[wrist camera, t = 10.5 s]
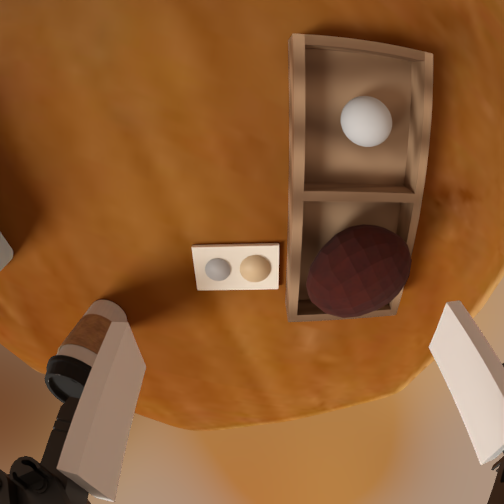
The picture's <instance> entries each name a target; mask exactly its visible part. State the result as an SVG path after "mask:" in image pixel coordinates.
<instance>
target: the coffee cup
mask: <svg viewBox="0 0 504 504" xmlns="http://www.w3.org/2000/svg"><path fill="white" fill-rule="evenodd" d="M111 322H127V317H126V314H125V312H124V311H123V310H122V309H121V307H119V306H118V305H117V304H115V303H114V302H111V301H108V300H97V301H95V302H94V303H93V304H92V305H91V306H90V308H89V309H88V310H87V312H86V313H85V314H84V316H83V317H82V318H81V319H80V321H79V322H78V323H77V325H76V326H75V327H74V329H73V330H72V331H71V332H70V334H69V335H68V336H67V338H66V339H65V340H64V342H63V343H62V345H61V346H60V347H59V349H58V351H57V354H56V355H55V356H53V357H51V358H50V359H49V361H48V364H47V372H46V375H45V383H46V385H47V387H48V389H49V390H50V391H51V393H52V394H53V395H54V396H55V397H56V398H57V399H59V400H60V401H61V402H63V403H65V401H66V400H67V399H68V398H69V397H75V398H80V397H81V395H82V392H83V389H84V387H85V384H86V382H87V379H88V377H89V374H90V372H91V369H92V367H93V364H94V362H95V359H96V357H97V354H98V352H99V350H100V347H101V345H102V343H103V340H104V338H105V336H106V333H107V331H108V329H109V327H110V324H111Z"/></svg>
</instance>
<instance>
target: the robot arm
mask: <svg viewBox="0 0 504 504" xmlns="http://www.w3.org/2000/svg"><path fill="white" fill-rule="evenodd" d="M429 349H430V351H431V353H432V355H433V357H434V359H435V361H436V363H437V365H438V367H439V369H440V371H441V373H442V375H443V377H444V379H445V381H446V383H447V385H448V388H449V390H450V392H451V394H452V396H453V399H454V401H455V403H456V405H457V408H458V410H459V412H460V415H461V417H462V419H463V422H464V424H465V426H466V429H467V431H468V434H469V436H470V439H471V441H472V443H473V446H474V449H475V452H476V454H477V457H478V459H479V462H480V465H482V464H484V463H486V462H489V461H491V460H493V459H495V458H496V457H497V456H498V455H499V454H500V453H501V452H503V453H504V363H503V364H502V363H501V362H500V360H499V358H498V357H497V355H496V354H495V352H494V350H493V349H492V347H491V346H490V344H489V343H488V341H487V340H486V338H485V336H484V335H483V333H482V332H481V330H480V329H479V327H478V326H477V324H476V323H475V321H474V320H473V319H472V317H471V316H470V314H469V313H468V311H467V310H466V308H465V307H464V306H463V304H462V303H461V301H453V302H447V303H446V305H445V308H444V311H443V313H442V316H441V319H440V321H439V324H438V326H437V329H436V331H435V334H434V336H433V339H432V341H431V343H430V346H429ZM145 369H146V365H145V363H144V361H143V358H142V356H141V353H140V351H139V348H138V346H137V343H136V341H135V338H134V336H133V333H132V331H131V328H130V325H129V323H128V322H111V324H110V327H109V329H108V331H107V333H106V336H105V338H104V340H103V343H102V345H101V347H100V350H99V352H98V354H97V357H96V359H95V362H94V364H93V367H92V369H91V372H90V374H89V377H88V379H87V382H86V384H85V387H84V389H83V392H82V395H81V397H80V398H75V397H69V398H68V399H67V400H66V401H65V403H64V404H63V405H62V406H61V408H60V410H59V413H58V416H57V421H55V424H54V426H53V430H52V432H51V435H50V437H49V440H48V443H47V446H46V449H45V452H44V455H43V458H42V461H41V463H38V462H37V461H36V460H34V459H33V458H31V457H27V456H24V457H20V458H18V459H17V460H16V461H14V463H13V465H12V466H11V469H10V474H6V473H5V472H3V471H2V470H0V504H91V503H90V502H89V501H88V499H87V498H88V493H90V494H91V495H93V496H94V497H96V498H99V499H103V500H107V501H112V502H115V498H116V493H117V487H118V482H119V477H120V473H121V468H122V463H123V458H124V454H125V449H126V445H127V440H128V436H129V431H130V428H131V424H132V419H133V415H134V411H135V407H136V403H137V399H138V395H139V392H140V388H141V384H142V380H143V377H144V373H145ZM499 465H500V466H499ZM498 466H499V468H498V469H497V470H496V471H497V472H498V473H497V476H496V480H495V483H494V486H493V489H492V492H491V495H490V498H489V501H488V503H487V504H504V456H503V457H502V458H501V459H500V460H499V461H498V462H496V463H495V464H494V465H493V467H492V470H494V469H495V468H496V467H498Z"/></svg>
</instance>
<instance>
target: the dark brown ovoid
mask: <svg viewBox="0 0 504 504" xmlns="http://www.w3.org/2000/svg"><path fill="white" fill-rule="evenodd" d="M410 268H411V256H410V251H409V248H408V245H407V244H406V242H405V241H404V240H403V239H402V238H401V237H400V236H399V235H398V234H396V233H394V232H392V231H390V230H388V229H386V228H383V227H379V226H376V225H365V224H363V225H357V226H351V227H349V228H347V229H345V230H343V231H341V232H339V233H337V234H335V235H334V236H333V237H332V238H331V239H330V240H329V241H328V242H327V243H326V244H325V245H324V246H323V247H322V248H321V249H320V251H319V253H318V254H317V256H316V257H315V259H314V261H313V262H312V264H311V265H310V269H309V273H308V277H307V282H306V287H307V291H308V296H309V298H310V300H311V302H312V303H314V304H315V305H316V306H317V307H318V308H320V309H321V310H322V311H323V312H325V313H326V314H330V315H333V316H337V317H341V318H348V317H359V316H362V315H364V314H367V313H370V312H373V311H376V310H378V309H379V308H381V307H383V306H384V305H386V304H388V303H390V302H391V301H392V300H393V299H394V298H395V297H396V296H397V295H398V294H399V293H400V291H401V290H402V288H403V287H404V285H405V284H406V281H407V279H408V277H409V273H410Z"/></svg>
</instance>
